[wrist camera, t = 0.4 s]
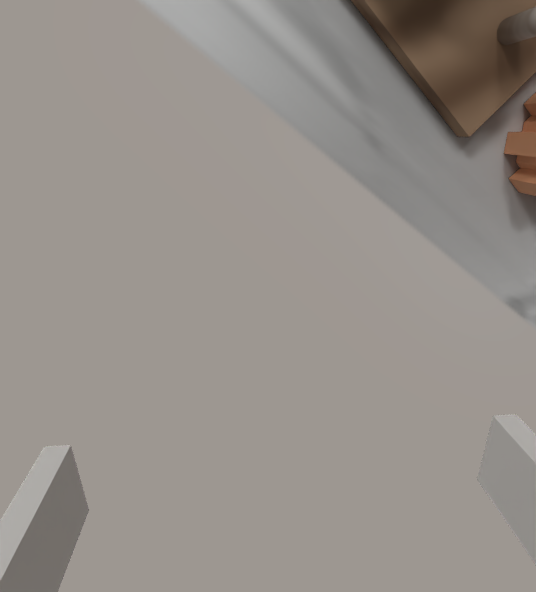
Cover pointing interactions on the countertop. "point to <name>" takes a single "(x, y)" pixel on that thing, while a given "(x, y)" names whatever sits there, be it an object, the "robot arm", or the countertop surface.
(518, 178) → the rust gear
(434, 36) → the gear board
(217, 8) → the countertop surface
